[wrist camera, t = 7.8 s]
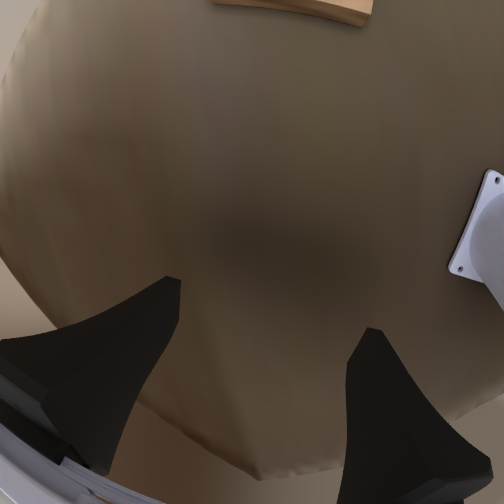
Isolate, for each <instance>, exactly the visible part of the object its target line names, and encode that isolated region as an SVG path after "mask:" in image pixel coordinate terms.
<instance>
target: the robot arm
mask: <svg viewBox="0 0 504 504" xmlns="http://www.w3.org/2000/svg"><path fill="white" fill-rule="evenodd" d="M496 177H497V182H495V178H496ZM460 266H461V268H460V269H459V270H458V268H459V267H460ZM448 268H449V270H450V272H451V273H453V274H456V275H460V276H463V277H466V278H469V279H472V280H476V281H479V282H482V283H485V285H486V286H487V287H488V289H489V290H490V292H491V293H492V295H493V296H494V297H495V299H496V300H497V302H498V303H499V305H500V306H501V308H502V309H503V311H504V176H503V175H501V174H499V173H497V172H495V171H494V170H491V169H490V170H488V171H487V172H486V174H485V176H484V179H483V182H482V185H481V188H480V191H479V194H478V197H477V199H476V202H475V205H474V207H473V210H472V213H471V215H470V218H469V220H468V223H467V225H466V227H465V230H464V232H463V234H462V237H461V239H460V241H459V244H458V246H457V248H456V250H455V252H454V254H453V257H452V259H451V261H450V263H449V266H448ZM180 288H181V280H179V279H175V278H172V277H168V276H165V277H163V278H162V279H160V280H158V281H157V282H155V283H153V284H152V285H150V286H149V287H147V288H145V289H144V290H142V291H140V292H139V293H137V294H135V295H134V296H132V297H130V298H129V299H127V300H125V301H123V302H122V303H120V304H118V305H116V306H114V307H112V308H110V309H108V310H106V311H104V312H102V313H100V314H98V315H96V316H94V317H91V318H89V319H86V320H84V321H81V322H79V323H76V324H73V325H70V326H67V327H63V328H60V329H57V330H54V331H50V332H46V333H41V334H37V335H33V336H26V337H19V338H11V339H2V340H1V341H0V490H1V491H2V492H3V493H4V494H6V495H7V496H8V497H9V498H10V499H11V500H12V501H13V502H14V503H16V504H106V503H104V502H102V501H100V500H98V499H97V498H95V496H94V494H95V495H97V496H99V497H101V498H103V499H106V500H107V501H109V502H112V503H114V504H165V503H163V502H160V501H157V500H155V499H152V498H149V497H147V496H144V495H142V494H139V493H137V492H134V491H132V490H130V489H127V488H125V487H123V486H121V485H118V484H116V483H114V482H112V481H110V480H108V479H106V478H104V477H102V476H105V475H108V474H109V471H110V468H111V464H112V461H113V458H114V455H115V452H116V448H117V446H118V443H119V440H120V438H121V435H122V432H123V429H124V427H125V425H126V422H127V420H128V417H129V415H130V412H131V410H132V408H133V405H134V403H135V401H136V399H137V396H138V394H139V392H140V390H141V388H142V386H143V384H144V383H145V381H146V379H147V378H148V376H149V374H150V373H151V371H152V369H153V368H154V366H155V364H156V363H157V361H158V360H159V358H160V356H161V355H162V353H163V351H164V350H165V348H166V346H167V345H168V343H169V341H170V339H171V337H172V335H173V333H174V330H175V328H176V326H177V323H178V321H179V307H180ZM345 386H346V411H347V447H346V455H345V463H344V470H343V476H342V481H341V486H340V491H339V495H338V500H337V504H464V500H463V499H465V498H467V497H469V496H471V495H472V494H474V493H476V492H478V491H479V490H481V489H482V488H484V487H486V486H487V485H488V484H489V483H490V482H491V481H492V479H493V472H492V466H491V461H490V458H489V457H488V456H486V455H485V454H483V453H482V452H481V451H479V450H478V449H477V448H475V447H474V446H472V445H471V444H470V443H468V441H466V440H465V439H464V438H463V437H462V436H461V435H459V434H458V433H457V432H456V431H455V430H454V429H453V428H452V427H451V426H450V425H449V424H448V423H447V422H446V421H445V420H444V419H443V417H442V416H441V415H440V414H439V413H438V412H437V411H436V410H435V408H434V407H433V406H432V405H431V403H430V402H429V401H428V400H427V398H426V397H425V396H424V395H423V393H422V392H421V390H420V389H419V388H418V386H417V385H416V383H415V382H414V380H413V379H412V377H411V376H410V374H409V373H408V371H407V370H406V368H405V367H404V365H403V363H402V362H401V360H400V359H399V357H398V355H397V354H396V352H395V351H394V349H393V347H392V346H391V344H390V343H389V341H388V339H387V338H386V336H385V335H384V333H383V332H382V330H378V329H373V328H368V327H367V329H366V331H365V333H364V334H363V336H362V338H361V340H360V341H359V343H358V345H357V347H356V348H355V350H354V352H353V354H352V355H351V357H350V359H349V360H348V362H347V371H346V385H345Z"/></svg>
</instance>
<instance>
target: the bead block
mask: <svg viewBox="0 0 504 504" xmlns="http://www.w3.org/2000/svg"><path fill="white" fill-rule="evenodd" d="M210 1H211V2H212V3H213V4H232V5H245V6H255V7H264V8H272V9H279V10H286V11H292V12H297V13H303V14H308V15H313V16H318V17H322V18H326V19H331V20H335V21H339V22H342V23H346V24H350V25H353V26H357V27H360V28H362V27H363V25H364V24H365V22H366V21H367V19H368V18H369V16H370V15H371V10H372V4H373V0H210Z"/></svg>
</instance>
